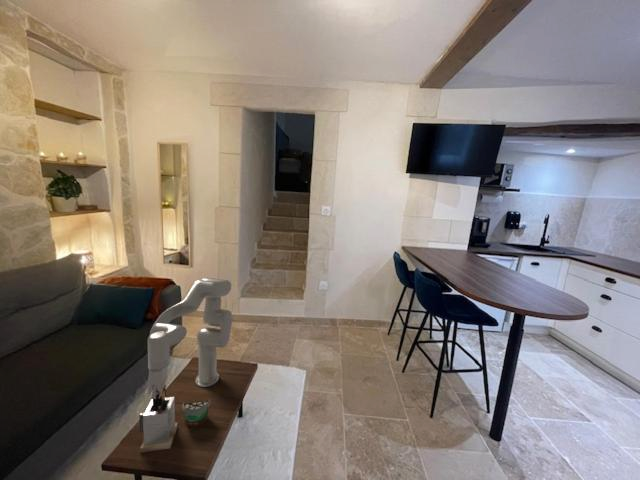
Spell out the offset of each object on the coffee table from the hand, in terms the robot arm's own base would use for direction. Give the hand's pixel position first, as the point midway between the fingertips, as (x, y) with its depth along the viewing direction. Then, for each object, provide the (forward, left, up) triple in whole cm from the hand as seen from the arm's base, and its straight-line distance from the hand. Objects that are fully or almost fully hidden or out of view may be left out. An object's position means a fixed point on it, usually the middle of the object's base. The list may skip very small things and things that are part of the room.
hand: (159, 401), depth 110 cm
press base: (0, 0, -18) cm, 18 cm away
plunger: (0, 0, -16) cm, 16 cm away
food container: (-6, +13, -18) cm, 23 cm away
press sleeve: (0, -1, -16) cm, 16 cm away
